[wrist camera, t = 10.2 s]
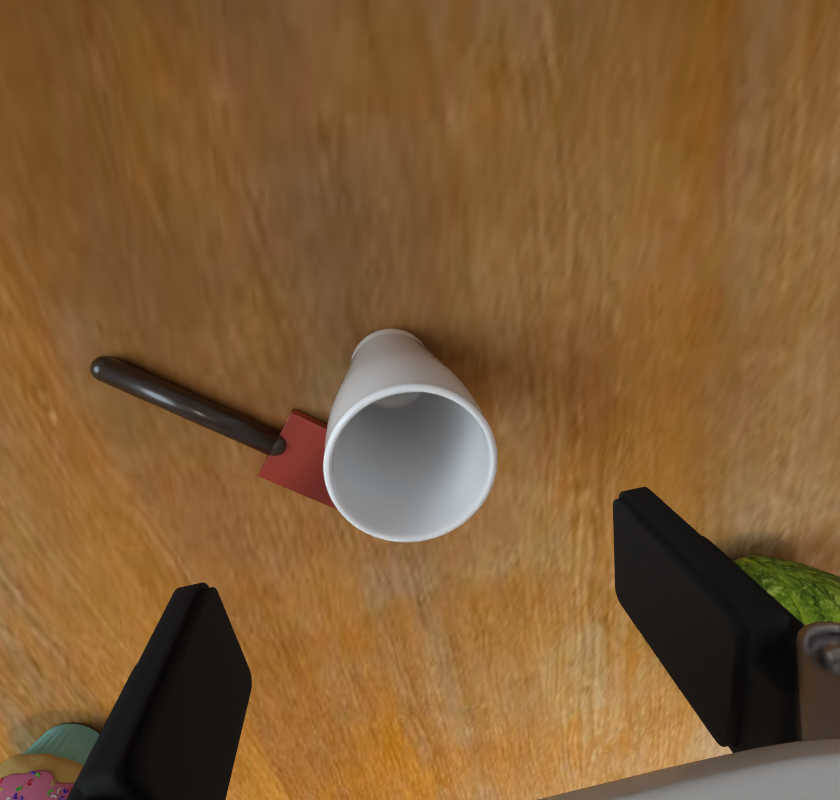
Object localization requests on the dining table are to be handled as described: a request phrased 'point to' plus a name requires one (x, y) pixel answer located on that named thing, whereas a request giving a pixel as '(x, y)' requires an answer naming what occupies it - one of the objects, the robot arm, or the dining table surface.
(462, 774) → the dining table surface
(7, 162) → the dining table surface
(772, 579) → the lettuce
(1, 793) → the cupcake
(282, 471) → the spatula
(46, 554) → the dining table surface
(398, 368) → the drinking glass
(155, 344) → the dining table surface
